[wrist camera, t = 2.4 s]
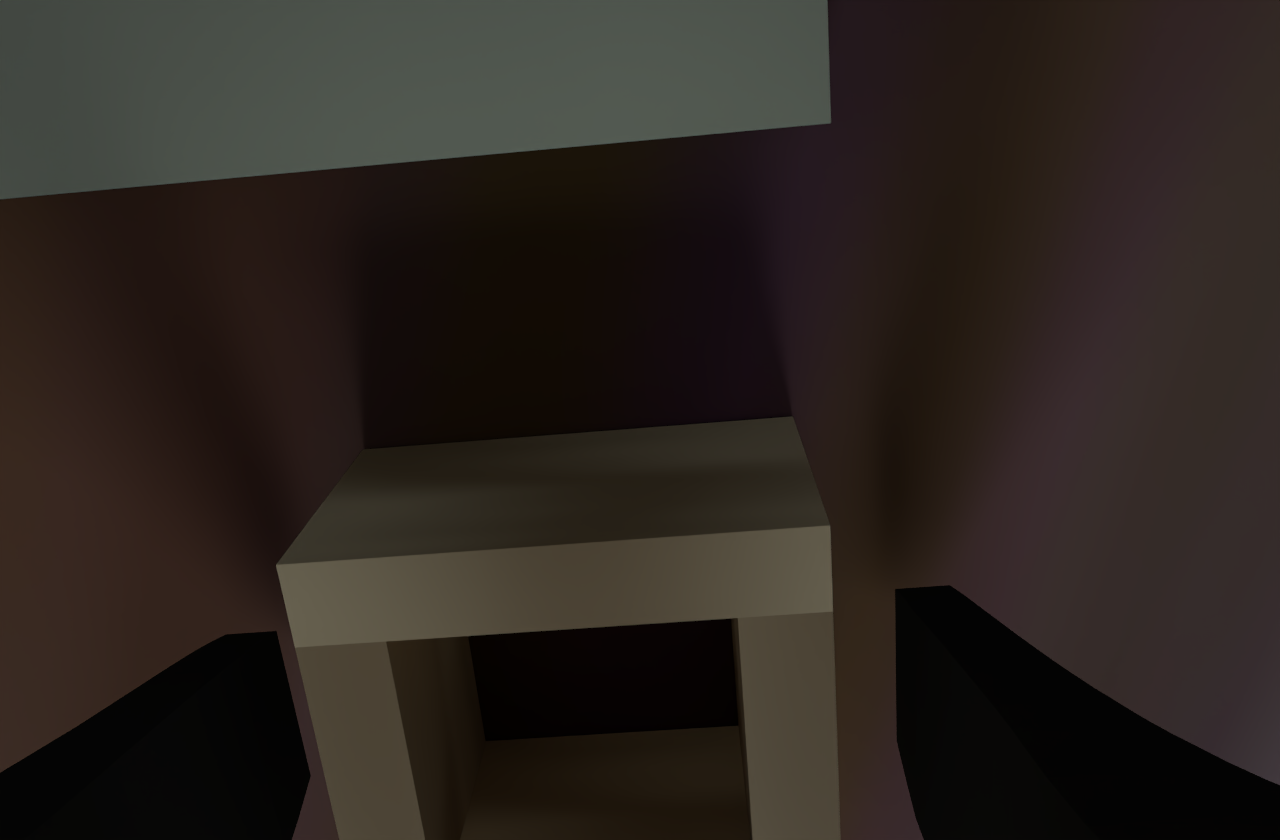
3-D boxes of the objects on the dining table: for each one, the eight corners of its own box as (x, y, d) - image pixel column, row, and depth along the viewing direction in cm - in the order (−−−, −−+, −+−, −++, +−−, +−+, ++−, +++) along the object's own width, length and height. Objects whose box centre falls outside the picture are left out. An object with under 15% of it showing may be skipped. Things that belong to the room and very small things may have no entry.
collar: (430, 799, 14) (372, 982, 12) (363, 449, 13) (276, 565, 10) (808, 777, 14) (845, 960, 11) (793, 416, 12) (829, 525, 10)
